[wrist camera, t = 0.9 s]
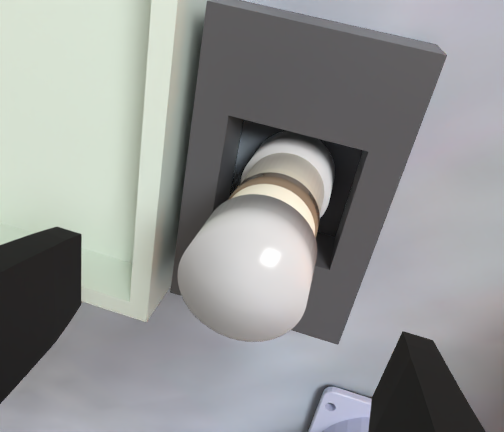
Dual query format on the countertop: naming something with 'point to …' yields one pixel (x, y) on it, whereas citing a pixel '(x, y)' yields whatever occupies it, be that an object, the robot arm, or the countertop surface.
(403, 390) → the robot arm
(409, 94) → the fuse holder
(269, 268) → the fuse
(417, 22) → the countertop surface
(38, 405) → the countertop surface
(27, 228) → the parts tray
